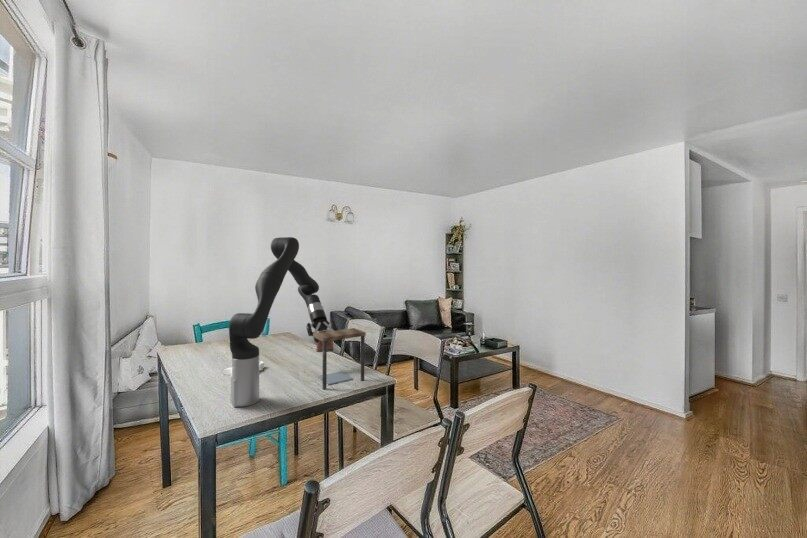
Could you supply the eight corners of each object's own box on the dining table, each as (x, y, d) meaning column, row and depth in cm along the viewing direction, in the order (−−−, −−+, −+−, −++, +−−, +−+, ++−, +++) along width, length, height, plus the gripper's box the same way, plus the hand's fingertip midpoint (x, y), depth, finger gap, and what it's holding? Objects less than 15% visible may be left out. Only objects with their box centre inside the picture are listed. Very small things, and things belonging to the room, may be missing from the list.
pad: (328, 385, 144) (328, 384, 144) (317, 377, 153) (317, 376, 153) (353, 379, 151) (353, 378, 151) (341, 372, 160) (341, 371, 160)
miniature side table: (322, 390, 138) (323, 338, 137) (312, 382, 147) (312, 333, 146) (365, 380, 150) (365, 332, 149) (353, 373, 159) (353, 328, 158)
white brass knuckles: (247, 365, 170) (271, 369, 166) (217, 377, 153) (243, 381, 148) (246, 359, 170) (271, 362, 165) (217, 370, 153) (243, 373, 148)
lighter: (316, 352, 158) (316, 331, 157) (316, 350, 161) (316, 329, 161) (333, 351, 160) (333, 330, 160) (333, 349, 163) (333, 329, 163)
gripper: (304, 310, 162) (313, 338, 153) (332, 307, 170) (342, 334, 161) (301, 319, 166) (309, 347, 157) (328, 316, 175) (337, 343, 166)
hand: (326, 340), depth 159 cm, fingers closed on lighter, 8 cm apart
